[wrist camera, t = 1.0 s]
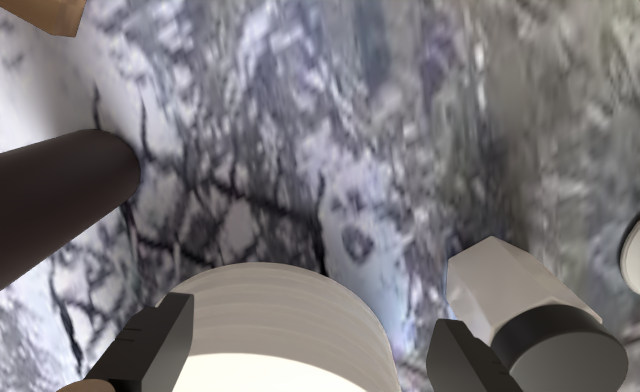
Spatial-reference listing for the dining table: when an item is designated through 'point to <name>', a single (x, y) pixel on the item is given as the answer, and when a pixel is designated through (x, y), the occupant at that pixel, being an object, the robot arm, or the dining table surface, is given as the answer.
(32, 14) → the board
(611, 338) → the jar
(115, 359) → the robot arm
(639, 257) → the chalice
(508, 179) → the dining table surface
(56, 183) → the bottle
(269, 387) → the plate stack
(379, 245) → the dining table surface
